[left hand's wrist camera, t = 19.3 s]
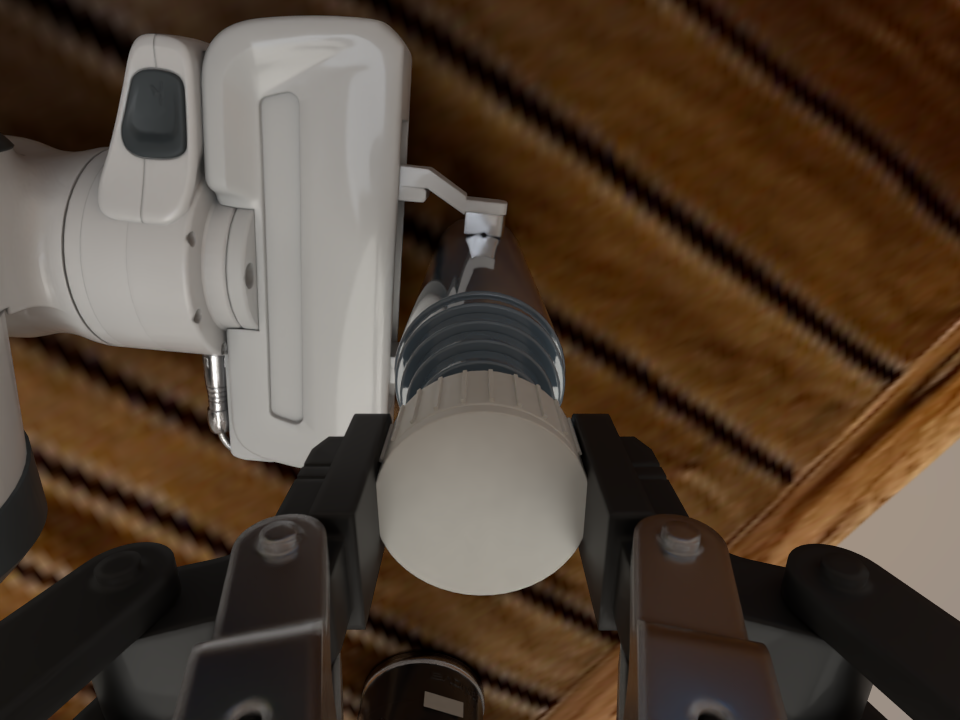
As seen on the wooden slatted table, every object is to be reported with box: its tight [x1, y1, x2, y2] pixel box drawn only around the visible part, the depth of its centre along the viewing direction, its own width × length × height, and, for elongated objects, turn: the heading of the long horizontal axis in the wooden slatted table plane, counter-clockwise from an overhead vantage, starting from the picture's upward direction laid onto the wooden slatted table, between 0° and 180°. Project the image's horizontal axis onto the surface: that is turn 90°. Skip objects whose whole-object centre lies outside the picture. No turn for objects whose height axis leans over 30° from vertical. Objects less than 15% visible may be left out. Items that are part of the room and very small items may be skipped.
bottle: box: [394, 218, 565, 407], centre depth 21 cm, size 5×5×23 cm
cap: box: [376, 369, 587, 595], centre depth 11 cm, size 4×4×2 cm
